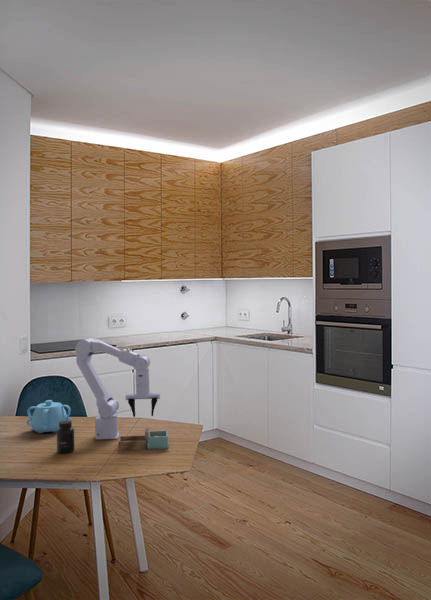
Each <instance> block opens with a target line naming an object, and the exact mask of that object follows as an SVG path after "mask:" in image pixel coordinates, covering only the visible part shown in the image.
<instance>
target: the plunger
mask: <svg viewBox="0 0 431 600" xmlns="http://www.w3.org/2000/svg"><path fill="white" fill-rule="evenodd" d="M144 435H145V440H146V443H148V441H149V437H150V430H149V428H145V431H144Z"/></svg>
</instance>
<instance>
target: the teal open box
mask: <svg viewBox="0 0 431 600" xmlns="http://www.w3.org/2000/svg"><path fill="white" fill-rule="evenodd" d="M154 436H157V437H154ZM167 449H169V430H149V441H148V444H147V450H148V451H149V450H151V451H152V450H167Z"/></svg>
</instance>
